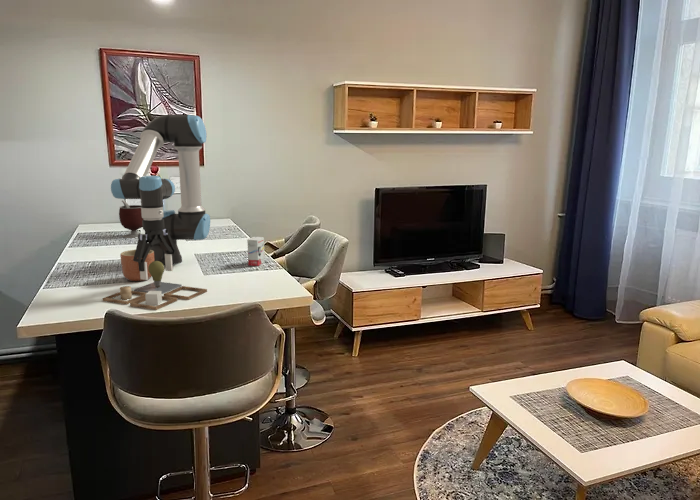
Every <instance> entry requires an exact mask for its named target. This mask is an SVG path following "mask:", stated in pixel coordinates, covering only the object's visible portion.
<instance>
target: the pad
mask: <svg viewBox="0 0 700 500" xmlns="http://www.w3.org/2000/svg"><path fill="white" fill-rule="evenodd" d="M179 287H182V284H181V283H171V282H166V281H165V282H164V281H161V286H160V287H156V286H155V284H154V281H153V282H150V283H148V284H144V285H141V286H139V287H137V288H134V289H133V291H137V292H144V293H148V292H149V291H161V293H162V295H164V293H167V292H169V291H172V290H174V289H177V288H179Z"/></svg>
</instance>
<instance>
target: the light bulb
mask: <svg viewBox="0 0 700 500" xmlns="http://www.w3.org/2000/svg"><path fill="white" fill-rule="evenodd" d="M148 270H149V273H150V274H151V276H152V277H151V278H152V280H153V282H154V284H155V286H156V287H160V286H161V282H162V279H163V274H164V272H165V266H164V265H163V264H162V263H161V262H160V261H153V262H152V263H150V265H149V267H148Z"/></svg>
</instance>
